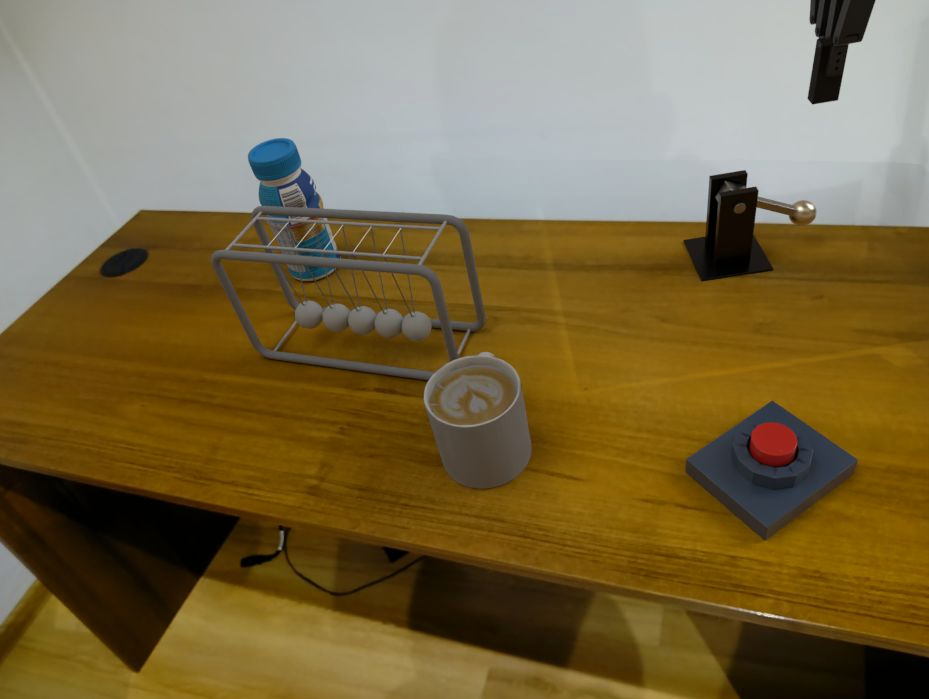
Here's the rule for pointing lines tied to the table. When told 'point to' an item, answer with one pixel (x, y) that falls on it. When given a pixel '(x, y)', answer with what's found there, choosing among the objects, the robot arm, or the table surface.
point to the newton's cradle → (361, 317)
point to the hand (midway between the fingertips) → (822, 99)
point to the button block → (769, 472)
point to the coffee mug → (479, 420)
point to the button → (773, 444)
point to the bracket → (728, 232)
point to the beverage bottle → (291, 202)
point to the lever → (780, 206)
